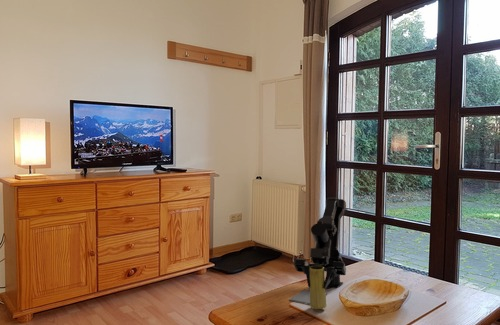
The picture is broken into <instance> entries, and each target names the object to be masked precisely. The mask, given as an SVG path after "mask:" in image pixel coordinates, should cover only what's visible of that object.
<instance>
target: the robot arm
mask: <svg viewBox="0 0 500 325" xmlns="http://www.w3.org/2000/svg"><path fill="white" fill-rule="evenodd" d="M324 208H325V209H324V211H323V214H322V217H320V218H319V219H318V220H317V221H316V223H315V224H312V226H311V228H310V232H311V235H312V238H313V241H314V242H315V246H314V247H311V248H310V253H309V258H310V260H311V262H309V261H307V260H306V258H296V259H295V260H294V262H293V265H294V267H295V269H296V271H297V272H300V273H303V274H305V275H306V281H307V283H306V284H307V286H308V288H309V289H310V267H311V266H314V265H319V266H323V267H324V272H326V273H325V282H324V289H325V290H326V289H327V287H332V288H336V287H338V288H339V287H340V286H342V285H343V284H344V282H343V281H341V276H346V275H347V267H346V264H345V262H344V260H343V258H342V255H341V253H340V251H339V242H340V241H339V239H340V227H341V225H340V224H341V219H342V217H343V216H344V215H345V210H346V209H347V201H345V199H343V198H341V199H340V198H337V197H327V198H326V200H325V207H324Z"/></svg>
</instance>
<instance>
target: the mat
mask: <svg viewBox="0 0 500 325" xmlns="http://www.w3.org/2000/svg"><path fill="white" fill-rule="evenodd" d="M289 301H290V302H295V303H299V302H303V303H302V304H304V303H308V304H307V305H309V304H310V289H303V290H302V291H300V292H298V293H297V294H295V295H293V296H292V297H290V298H289Z"/></svg>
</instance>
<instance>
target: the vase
mask: <svg viewBox="0 0 500 325" xmlns="http://www.w3.org/2000/svg"><path fill="white" fill-rule="evenodd" d="M325 278H326V276H325V271H324V267H323V266H319V265H314V266H311V267H310V288H309V290H310V305H309V307H311V308H312V309H315V310H320V309H321V310H322V309H325V308H327V295H326V294H325V293H326V289H324V282H325Z"/></svg>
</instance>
